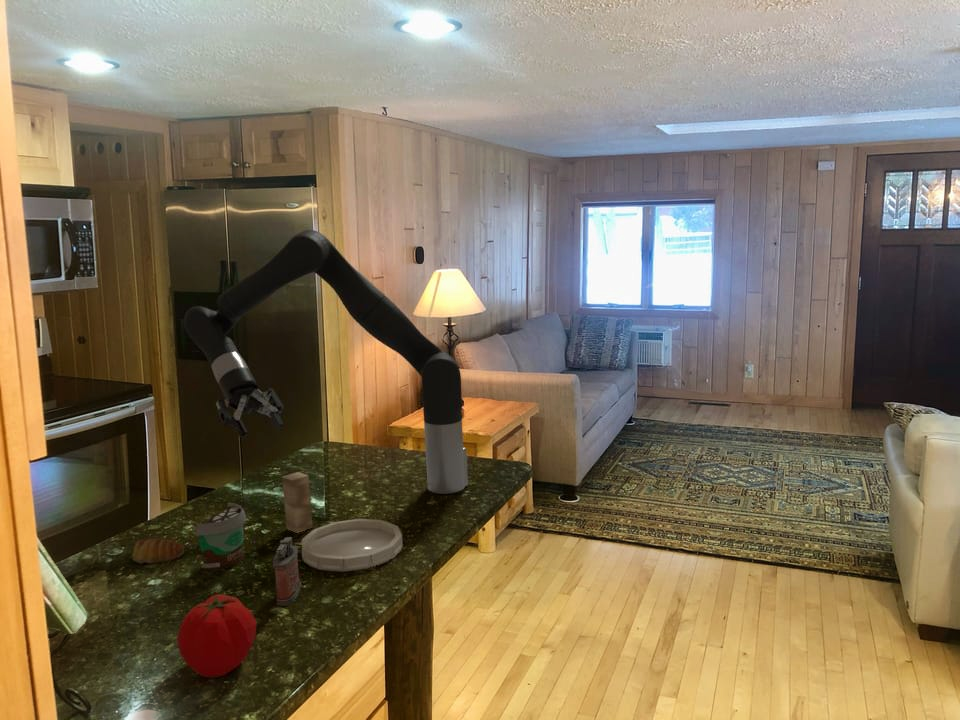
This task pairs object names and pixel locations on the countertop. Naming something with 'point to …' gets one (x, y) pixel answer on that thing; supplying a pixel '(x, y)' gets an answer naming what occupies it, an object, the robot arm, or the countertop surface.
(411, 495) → the countertop surface
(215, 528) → the food container
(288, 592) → the lighter
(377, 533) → the round dish
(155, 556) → the pastry
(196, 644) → the tomato
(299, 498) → the oak block
